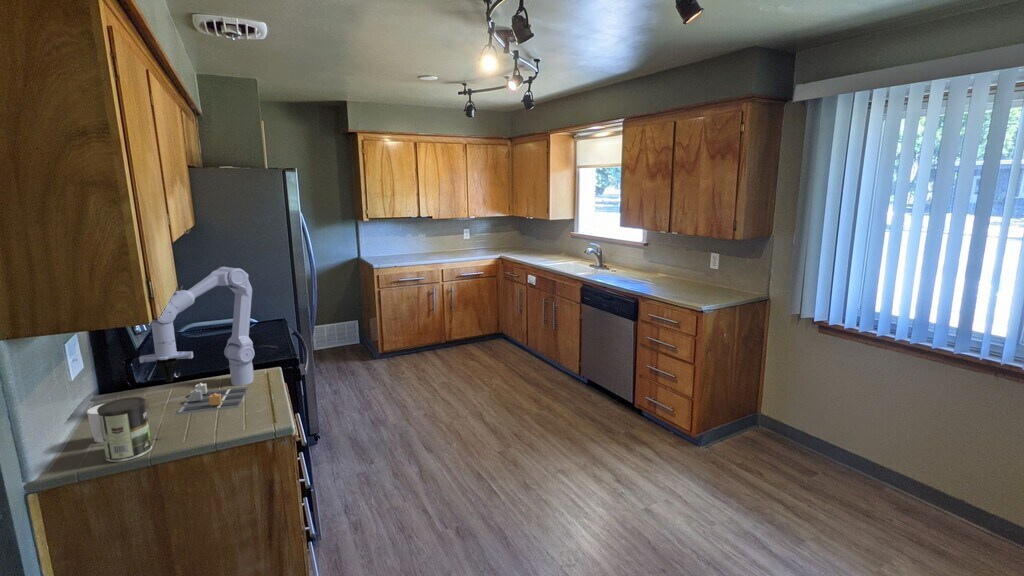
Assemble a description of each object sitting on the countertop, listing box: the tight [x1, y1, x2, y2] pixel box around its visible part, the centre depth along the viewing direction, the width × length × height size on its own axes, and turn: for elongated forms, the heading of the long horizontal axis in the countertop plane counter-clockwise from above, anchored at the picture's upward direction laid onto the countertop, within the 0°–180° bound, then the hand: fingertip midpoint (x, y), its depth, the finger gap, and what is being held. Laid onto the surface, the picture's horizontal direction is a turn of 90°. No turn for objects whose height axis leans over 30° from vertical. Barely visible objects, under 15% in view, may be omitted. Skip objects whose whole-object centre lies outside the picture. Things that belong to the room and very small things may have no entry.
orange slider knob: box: [209, 393, 222, 406], centre depth 163 cm, size 2×3×4 cm, turn 108°
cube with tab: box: [194, 382, 208, 394], centre depth 172 cm, size 2×3×4 cm, turn 108°
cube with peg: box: [189, 389, 203, 401], centre depth 167 cm, size 2×3×4 cm, turn 108°
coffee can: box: [97, 396, 153, 463], centre depth 135 cm, size 10×10×14 cm
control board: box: [174, 386, 249, 416], centre depth 169 cm, size 19×18×1 cm
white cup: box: [86, 403, 105, 444], centre depth 142 cm, size 8×8×10 cm
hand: (169, 381), depth 163 cm, fingers closed
